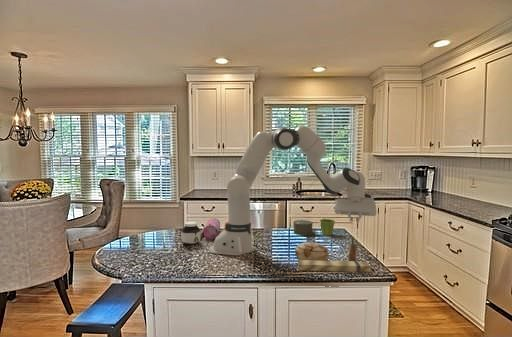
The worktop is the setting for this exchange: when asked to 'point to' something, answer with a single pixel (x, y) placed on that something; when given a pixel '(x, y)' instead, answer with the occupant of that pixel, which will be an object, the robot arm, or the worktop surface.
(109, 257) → the worktop surface
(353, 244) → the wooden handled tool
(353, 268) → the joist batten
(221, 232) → the pencil case cradle
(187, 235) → the spread jar
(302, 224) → the can
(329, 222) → the plant pot
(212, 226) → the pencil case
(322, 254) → the trinket box
